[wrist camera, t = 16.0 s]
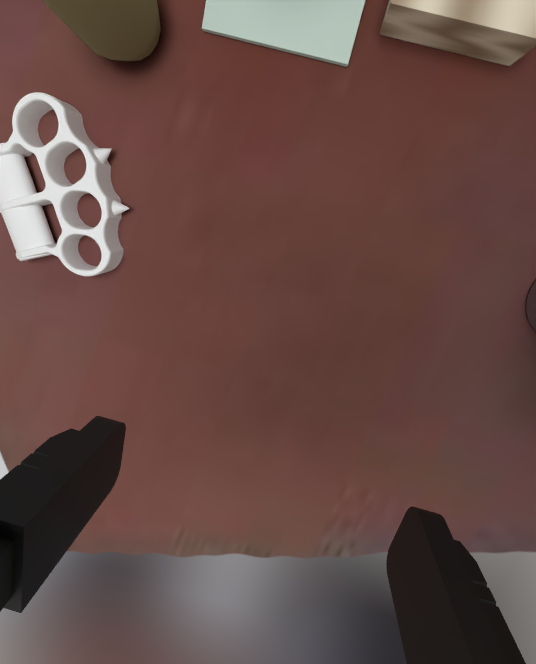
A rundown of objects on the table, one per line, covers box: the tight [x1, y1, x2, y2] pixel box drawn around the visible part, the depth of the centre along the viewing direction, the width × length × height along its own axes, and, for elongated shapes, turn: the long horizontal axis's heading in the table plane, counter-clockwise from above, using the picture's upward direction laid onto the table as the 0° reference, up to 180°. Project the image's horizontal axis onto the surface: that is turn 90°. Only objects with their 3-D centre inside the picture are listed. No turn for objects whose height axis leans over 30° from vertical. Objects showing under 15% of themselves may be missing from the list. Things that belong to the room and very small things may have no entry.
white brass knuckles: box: [0, 92, 130, 276], centre depth 39 cm, size 3×18×15 cm
